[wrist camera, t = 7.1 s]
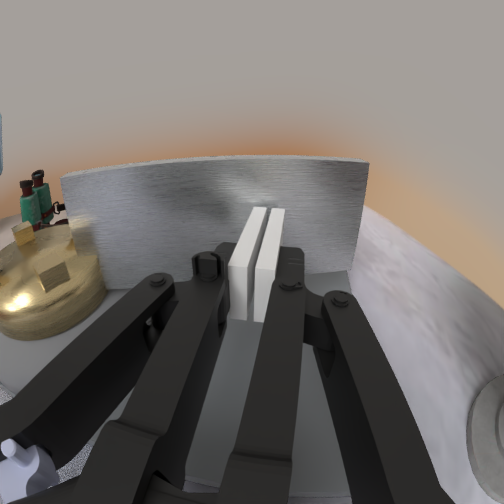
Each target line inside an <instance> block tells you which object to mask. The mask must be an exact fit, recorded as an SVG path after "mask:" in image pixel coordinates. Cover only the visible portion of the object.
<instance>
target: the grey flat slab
mask: <svg viewBox="0 0 504 504" xmlns="http://www.w3.org/2000/svg"><path fill="white" fill-rule="evenodd" d="M304 283H305V286H306V288H307V289H308V290H309V291H311V292H312V293H314V294H317V295H320V296H323V297H324V295H325V294H326V293H328V292H329V291H333V290H341V291H345V292H348V293H350V294H351V295H352V293H351V288H350V283H349V279H348V274H347V270H344V271H335V272H325V273H316V274H306V275H304ZM131 289H132V288H124V289H109V291H108V293H107V295H106V296H105V298H104V299H103V301H102V302H101V303H100V304H99V305H98V307H97V308H96V309H95V310H94V311H93V312H92V313H91V314H89V315H88V316H87V317H86V318H84V319H83V320H82V321H80V322H79V323H77V324H76V325H74V326H73V327H71V328H69V329H67V330H65V331H63V332H61V333H59V334H56V335H53V336H51V337H48V338H44V339H39V340H32V341H20V340H14V339H12V338H9V337H7V336H5V335H3V334H2V333H1V332H0V388H2V389H3V390H4V391H5V392H7V393H8V394H9V395H11V396H12V397H13V398H14V397H15V396H16V395H17V394H18V393H19V392H20V391H21V390H22V389H23V388H24V387H25V386H26V385H27V384H28V383H29V382H30V381H31V380H32V379H33V378H34V377H35V376H36V375H37V374H38V373H39V372H40V371H41V370H42V369H43V368H44V367H45V366H46V365H47V364H48V363H49V362H50V361H51V360H52V359H54V358H55V357H56V356H57V355H58V354H59V353H60V352H61V351H62V350H63V349H64V348H65V347H66V346H67V345H69V344H70V343H71V342H72V341H73V340H74V339H75V338H76V337H77V336H78V335H80V334H81V333H82V332H83V331H84V330H85V329H86V328H87V327H88V326H90V325H91V324H92V323H93V322H94V321H95V320H96V319H97V318H99V317H100V316H101V315H102V314H103V313H104V312H105V311H107V310H108V309H109V308H110V307H111V306H112V305H114V304H115V303H116V302H117V301H118V300H119V299H121V298H122V297H123V296H124V295H125V294H126V293H128V292H129V291H130V290H131ZM150 320H151V318H149V319H148V320H147V321H146V323H148V322H149V321H150ZM263 323H264V322H255V321H254V295H253V299H252V302H251V306H250V310H249V314H248V318H247V320H239V319H231V318H230V314H229V312H228V315H227V328H226V332H225V335H224V338H223V342H222V345H221V348H220V351H219V355H218V358H217V361H216V365H215V368H214V371H213V375H212V378H211V381H210V384H209V388H208V391H207V394H206V398H205V401H204V404H203V408H202V411H201V414H200V418H199V421H198V424H197V428H196V431H195V434H194V438H193V441H192V444H191V448H190V451H189V454H188V458H187V461H186V466H185V480H187V481H191V482H195V483H199V484H204V485H208V486H213V487H218V488H220V486H221V482H222V479H223V475H224V471H225V468H226V464H227V461H228V458H229V455H230V453H231V452H232V451H233V448H234V445H235V442H236V438H237V434H238V430H239V426H240V422H241V418H242V414H243V409H244V405H245V401H246V397H247V393H248V389H249V385H250V380H251V376H252V372H253V367H254V363H255V359H256V354H257V350H258V346H259V341H260V337H261V332H262V328H263ZM134 387H135V386H134ZM133 389H134V388H133ZM133 389H132V390H131V391H130V392H129V394H128V395H127V396H126V397H125V398H124V400H123V401H122V402H121V403H120V404H119V405H118V407H117V408H116V409H115V410H114V411H113V413H112V414H111V415H110V416H109V417H108V419H107V420H106V421H105V422H104V423H103V424H102V426H101V427H100V428H99V429H98V430H97V432H96V433H95V434H94V435H93V436H92V438H91V439H90V440H89V441H88V442H87V443H88V444H90V445H92V446H94V444H95V442H96V440H97V438H98V436H99V434H100V431H101V429H102V428H103V426H104V425H105V424H106V423H107V422H108V421H109V420H117V419H118V418H119V417H120V416H121V414H122V412H123V410H124V408H125V406H126V404H127V402H128V400H129V398H130V395H131V393H132V391H133ZM292 462H293V465H292V475H291V482H290V489H289V495H288V497H348V496H351V494H350V490H349V485H348V481H347V477H346V473H345V469H344V464H343V460H342V456H341V452H340V448H339V444H338V440H337V436H336V433H335V429H334V425H333V421H332V417H331V414H330V410H329V406H328V402H327V399H326V395H325V391H324V388H323V384H322V380H321V377H320V373H319V370H318V366H317V363H316V359H315V356H314V352H313V346H311V345H308V344H306V343H303V349H302V363H301V375H300V386H299V397H298V407H297V417H296V426H295V434H294V442H293V450H292Z"/></svg>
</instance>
